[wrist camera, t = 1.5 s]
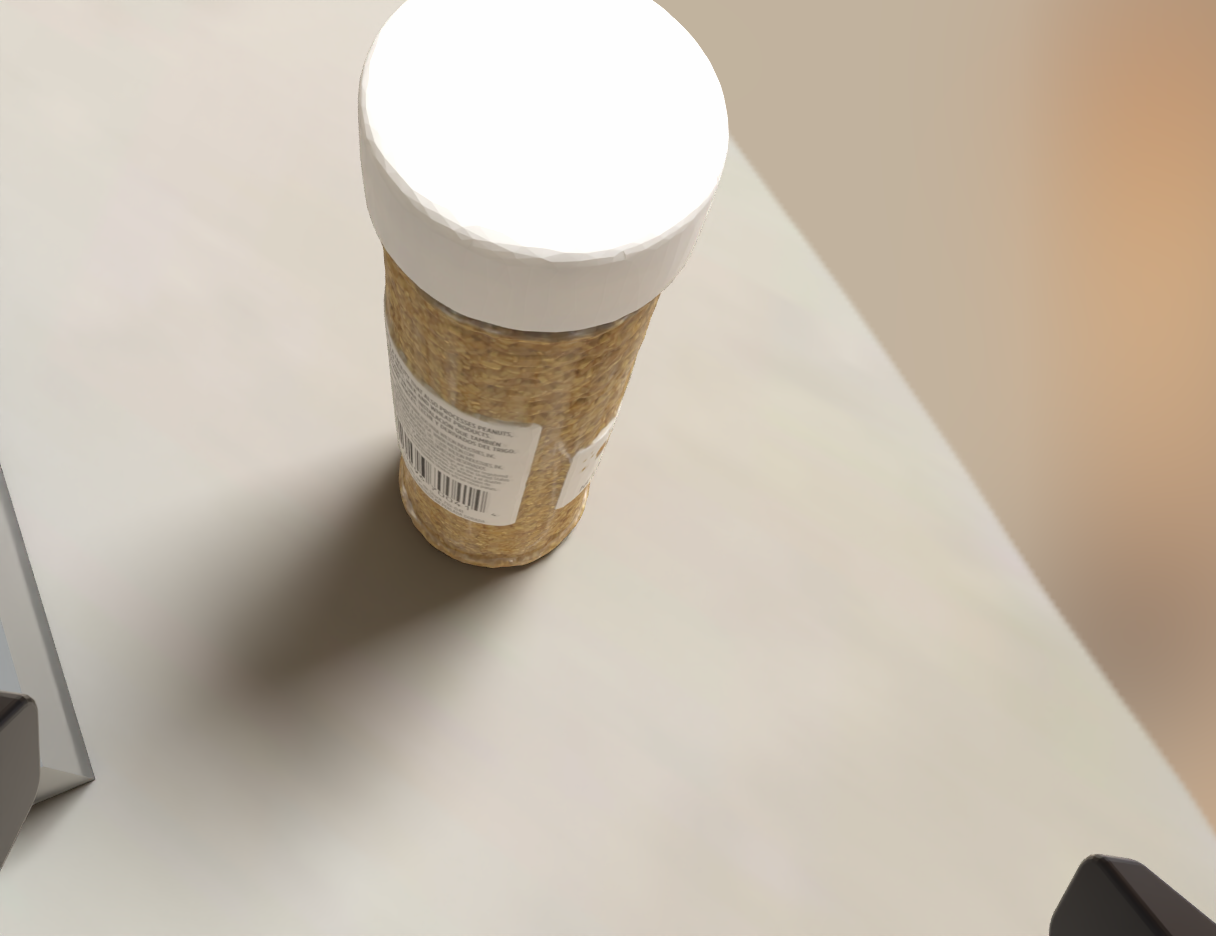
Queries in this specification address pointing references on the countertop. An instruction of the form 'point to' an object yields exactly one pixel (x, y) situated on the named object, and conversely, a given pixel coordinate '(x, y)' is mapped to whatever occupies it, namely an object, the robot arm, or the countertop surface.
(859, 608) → the countertop surface
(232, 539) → the countertop surface
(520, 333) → the sprinkles bottle
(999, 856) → the countertop surface
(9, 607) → the box
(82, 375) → the countertop surface
